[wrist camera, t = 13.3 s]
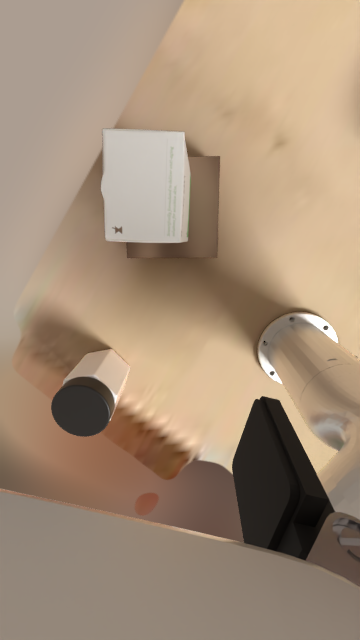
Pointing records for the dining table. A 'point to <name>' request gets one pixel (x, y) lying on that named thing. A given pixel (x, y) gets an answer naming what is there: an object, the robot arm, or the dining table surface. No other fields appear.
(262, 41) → the dining table surface
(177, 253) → the walnut block
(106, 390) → the hexagonal capped bottle
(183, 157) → the skincare box
